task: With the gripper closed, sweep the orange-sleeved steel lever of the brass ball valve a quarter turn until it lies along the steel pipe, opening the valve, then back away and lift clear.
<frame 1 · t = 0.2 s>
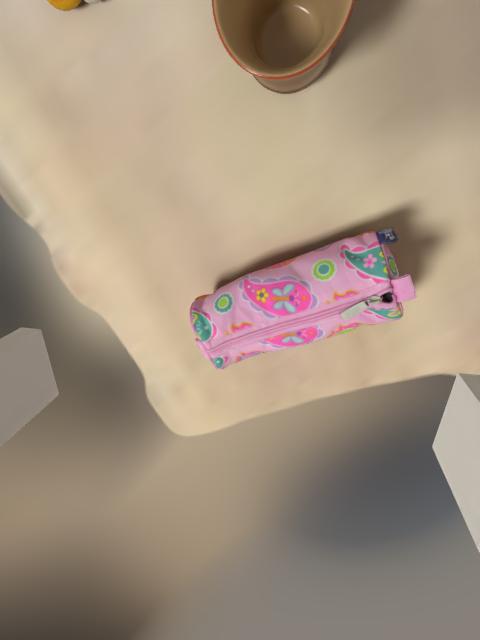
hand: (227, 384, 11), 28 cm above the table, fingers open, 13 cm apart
pencil case: (295, 290, 38), on the table
mug: (284, 27, 28), on the table
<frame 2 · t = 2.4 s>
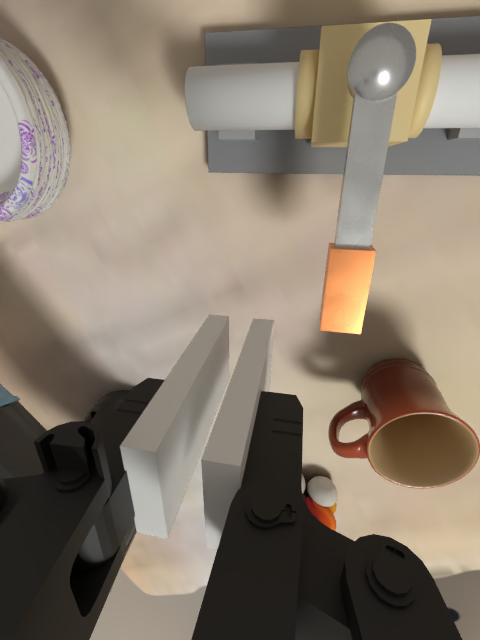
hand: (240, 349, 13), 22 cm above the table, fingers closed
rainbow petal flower: (301, 485, 47), on the table
valve fixture: (350, 107, 27), on the table
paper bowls: (24, 137, 33), on the table
mug: (377, 383, 37), on the table
valve lever: (357, 204, 19), point 12 cm above the table, hinge at -90.0°
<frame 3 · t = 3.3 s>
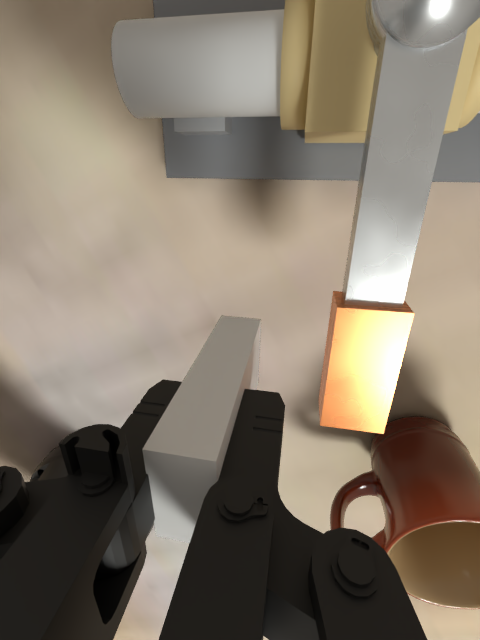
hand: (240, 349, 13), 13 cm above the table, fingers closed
valve fixture: (360, 88, 19), on the table
mug: (391, 443, 30), on the table
valve lever: (383, 234, 11), point 12 cm above the table, hinge at -90.0°
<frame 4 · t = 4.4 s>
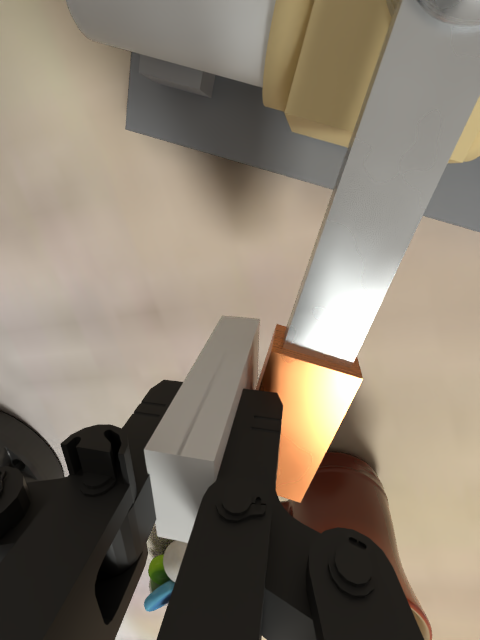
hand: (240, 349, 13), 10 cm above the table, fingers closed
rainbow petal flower: (197, 558, 37), on the table
valve fixture: (369, 85, 16), on the table
mug: (315, 473, 28), on the table
valve lever: (347, 271, 9), point 12 cm above the table, hinge at -88.7°, touching gripper
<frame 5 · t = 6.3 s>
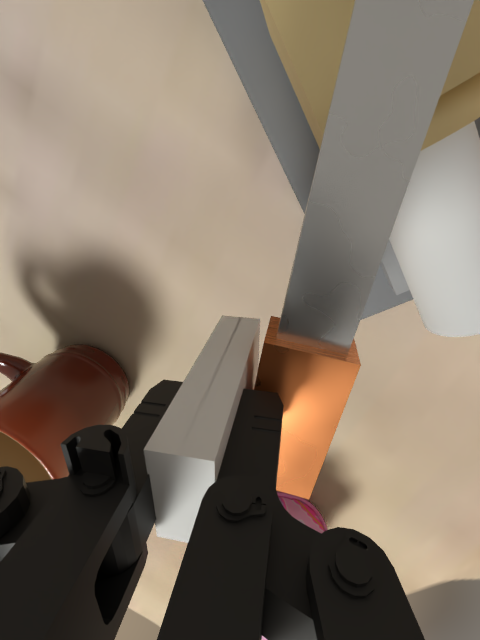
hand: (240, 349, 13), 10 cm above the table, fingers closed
pencil case: (252, 543, 34), on the table
valve fixture: (355, 72, 16), on the table
mug: (81, 363, 28), on the table
valve lever: (335, 254, 8), point 12 cm above the table, hinge at -39.0°, touching gripper
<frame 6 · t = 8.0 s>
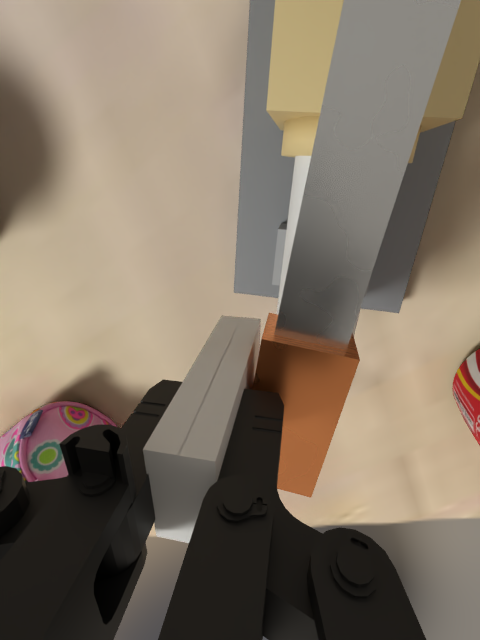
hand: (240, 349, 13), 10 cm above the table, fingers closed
pencil case: (51, 449, 34), on the table
valve fixture: (350, 68, 16), on the table
valve lever: (332, 248, 8), point 12 cm above the table, hinge at -4.4°, touching gripper
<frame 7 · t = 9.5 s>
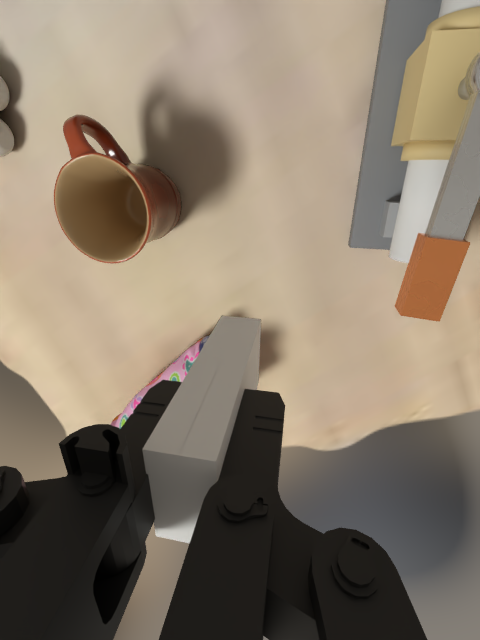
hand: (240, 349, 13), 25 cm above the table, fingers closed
pencil case: (190, 384, 46), on the table
valve fixture: (429, 109, 28), on the table
mug: (148, 187, 36), on the table
valve lever: (457, 197, 20), point 12 cm above the table, hinge at -4.3°
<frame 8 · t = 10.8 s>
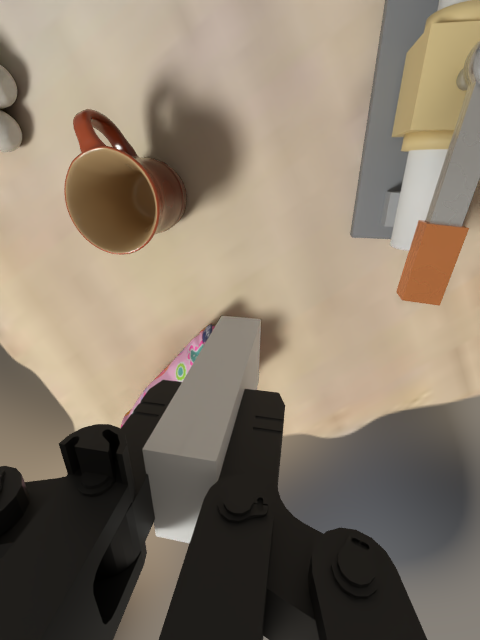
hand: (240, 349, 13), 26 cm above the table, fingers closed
pencil case: (197, 375, 47), on the table
valve fixture: (428, 100, 29), on the table
mug: (154, 180, 37), on the table
valve lever: (456, 184, 21), point 12 cm above the table, hinge at -4.3°
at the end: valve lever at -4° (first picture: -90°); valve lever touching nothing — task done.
